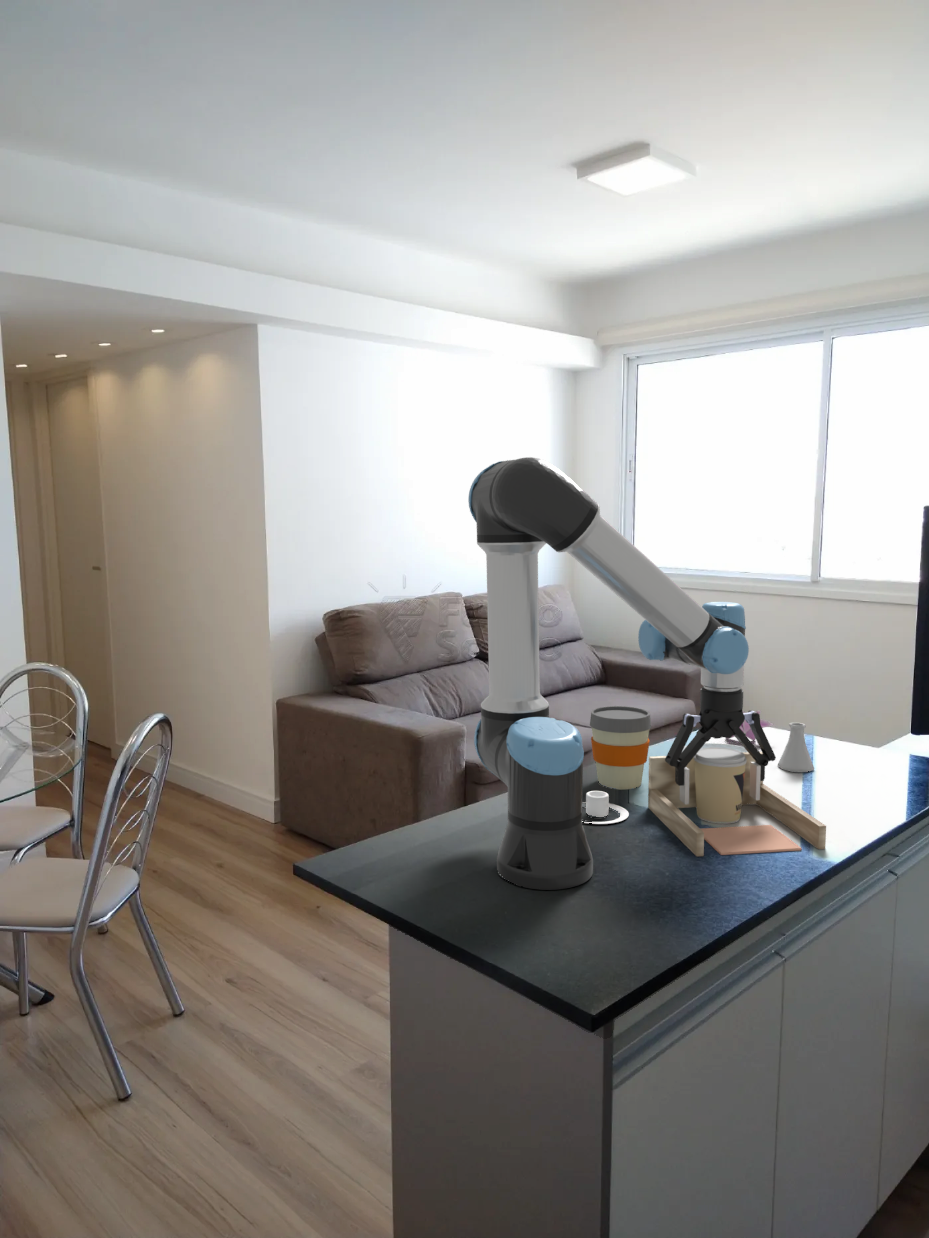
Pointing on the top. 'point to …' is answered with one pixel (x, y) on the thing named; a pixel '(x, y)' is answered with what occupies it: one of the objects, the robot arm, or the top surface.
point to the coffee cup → (719, 784)
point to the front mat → (748, 840)
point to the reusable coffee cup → (620, 745)
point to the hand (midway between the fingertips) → (719, 800)
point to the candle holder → (602, 807)
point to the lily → (747, 730)
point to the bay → (668, 801)
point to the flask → (796, 751)
